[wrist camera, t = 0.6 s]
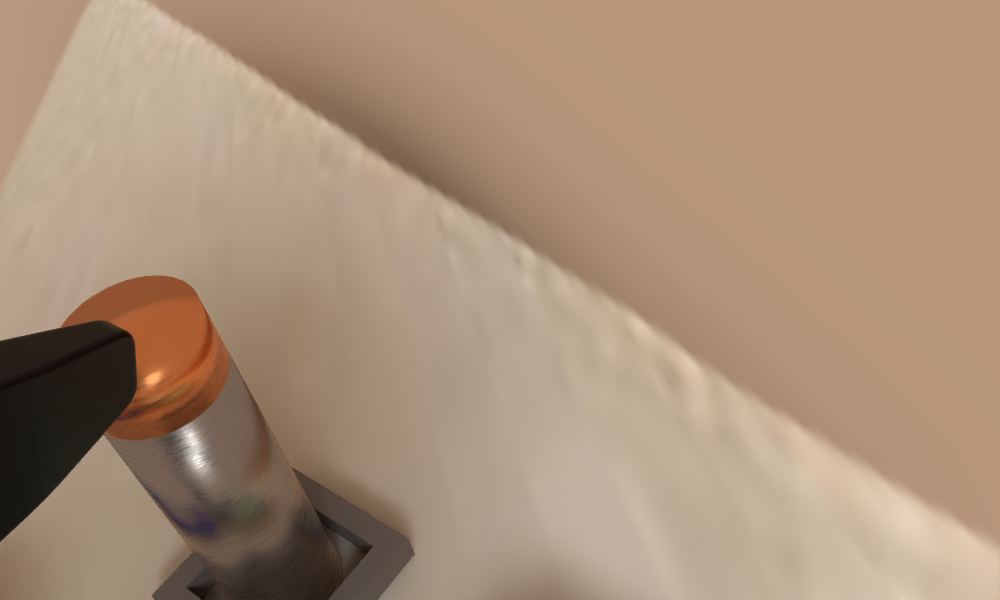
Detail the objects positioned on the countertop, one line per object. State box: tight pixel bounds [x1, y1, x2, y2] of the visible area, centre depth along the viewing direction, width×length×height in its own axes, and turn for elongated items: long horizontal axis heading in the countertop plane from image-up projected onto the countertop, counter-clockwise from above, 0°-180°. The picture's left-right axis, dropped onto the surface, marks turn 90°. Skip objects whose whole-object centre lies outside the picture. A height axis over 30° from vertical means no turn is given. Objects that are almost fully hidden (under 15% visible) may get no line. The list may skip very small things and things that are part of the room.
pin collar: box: [152, 467, 414, 600], centre depth 31 cm, size 6×6×1 cm
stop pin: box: [61, 276, 342, 600], centre depth 27 cm, size 4×4×12 cm
